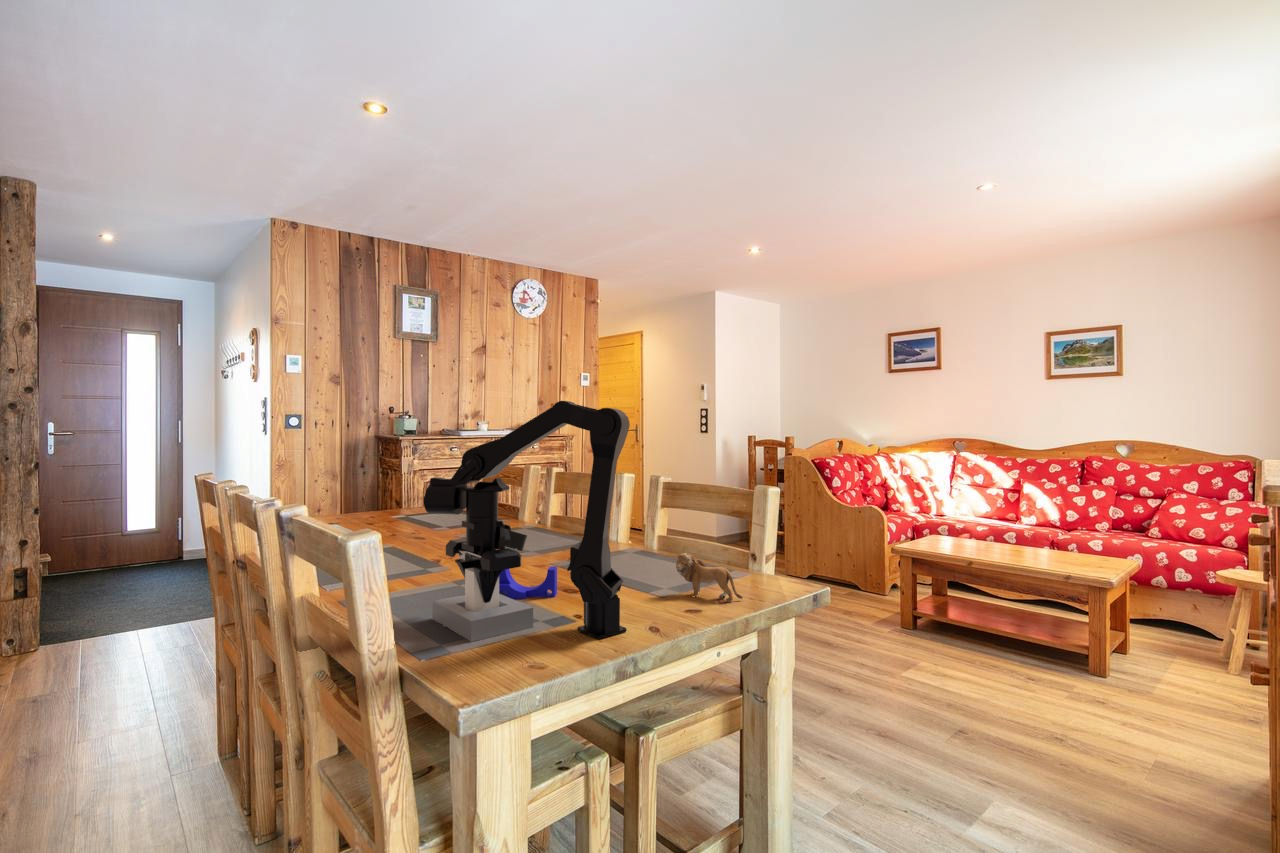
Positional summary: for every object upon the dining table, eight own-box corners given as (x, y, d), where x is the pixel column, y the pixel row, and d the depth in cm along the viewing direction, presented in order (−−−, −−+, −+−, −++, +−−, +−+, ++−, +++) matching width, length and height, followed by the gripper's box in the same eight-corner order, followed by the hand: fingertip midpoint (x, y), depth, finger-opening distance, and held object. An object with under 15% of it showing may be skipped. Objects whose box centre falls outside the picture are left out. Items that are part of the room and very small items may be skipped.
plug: (499, 616, 117) (499, 568, 117) (474, 622, 114) (474, 572, 114) (489, 612, 120) (489, 564, 120) (465, 617, 117) (465, 568, 116)
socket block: (532, 627, 115) (533, 606, 115) (471, 641, 107) (471, 619, 107) (490, 607, 127) (490, 588, 127) (432, 619, 119) (432, 599, 119)
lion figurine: (672, 597, 135) (672, 554, 135) (679, 590, 140) (679, 550, 140) (740, 604, 130) (740, 560, 130) (745, 597, 135) (745, 555, 135)
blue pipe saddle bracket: (496, 599, 133) (496, 570, 133) (502, 593, 138) (502, 566, 138) (553, 600, 133) (553, 571, 133) (557, 594, 137) (557, 566, 137)
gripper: (547, 516, 115) (546, 602, 115) (496, 506, 129) (496, 583, 129) (491, 523, 108) (491, 614, 108) (444, 511, 122) (444, 592, 122)
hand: (482, 600), depth 117 cm, fingers closed on plug, 4 cm apart
